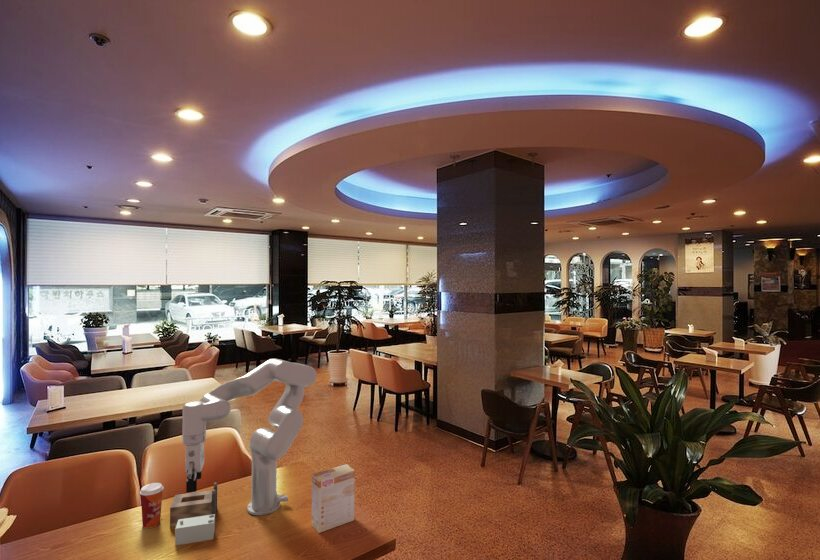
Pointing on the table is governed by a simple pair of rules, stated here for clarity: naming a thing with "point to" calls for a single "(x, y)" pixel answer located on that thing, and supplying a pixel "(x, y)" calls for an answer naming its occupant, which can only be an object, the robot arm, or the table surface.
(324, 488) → the coffeecake box
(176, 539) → the white block with knobs
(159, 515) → the paper cup
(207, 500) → the brown boxy piece
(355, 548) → the table surface
